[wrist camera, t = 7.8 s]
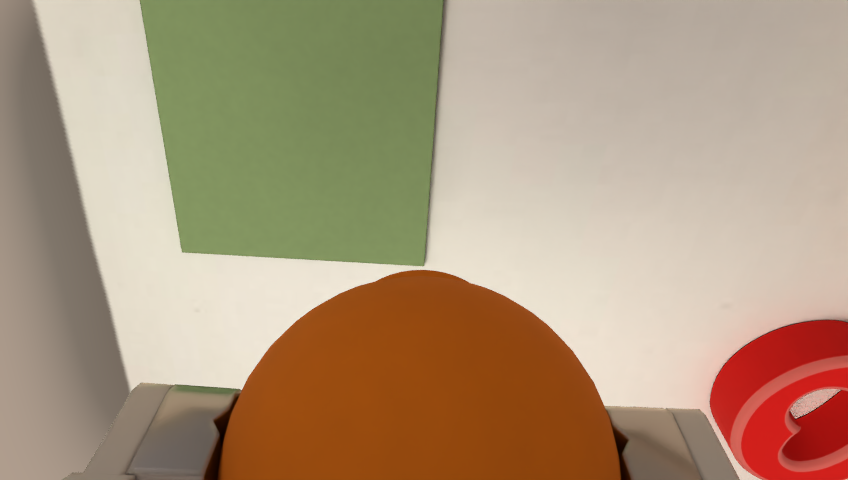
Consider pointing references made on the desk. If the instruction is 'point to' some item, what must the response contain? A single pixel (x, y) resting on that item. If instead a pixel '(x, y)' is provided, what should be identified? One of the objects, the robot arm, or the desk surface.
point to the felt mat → (298, 124)
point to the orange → (419, 393)
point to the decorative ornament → (787, 403)
